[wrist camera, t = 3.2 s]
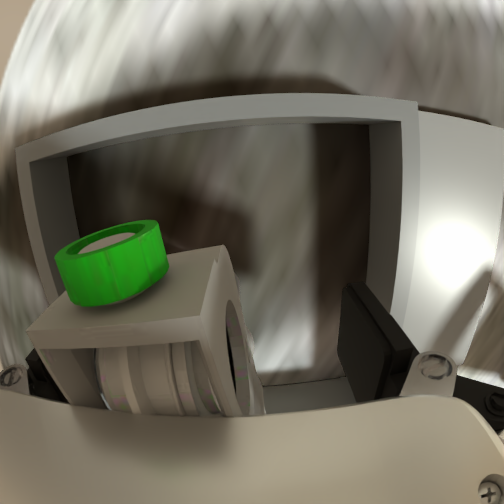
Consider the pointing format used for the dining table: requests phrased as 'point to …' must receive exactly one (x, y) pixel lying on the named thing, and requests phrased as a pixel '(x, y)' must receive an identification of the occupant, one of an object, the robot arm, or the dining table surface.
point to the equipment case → (381, 208)
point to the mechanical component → (149, 328)
